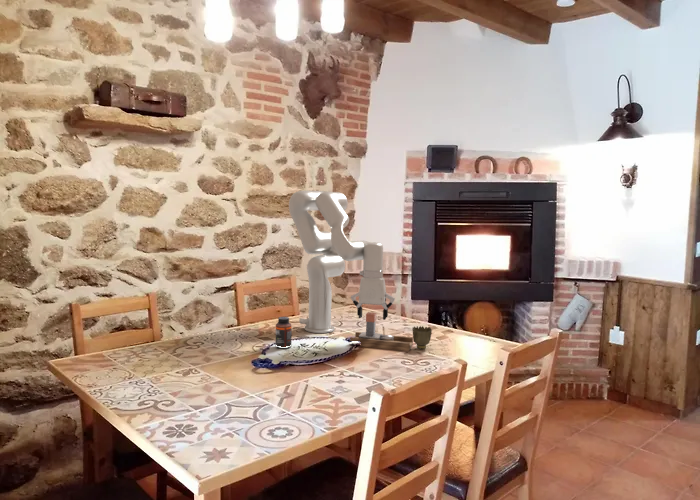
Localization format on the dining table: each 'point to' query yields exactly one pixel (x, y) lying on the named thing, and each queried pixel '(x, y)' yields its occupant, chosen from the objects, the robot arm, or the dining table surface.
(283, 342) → the supplement bottle
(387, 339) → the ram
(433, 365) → the dining table surface
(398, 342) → the board
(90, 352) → the dining table surface
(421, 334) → the cup
